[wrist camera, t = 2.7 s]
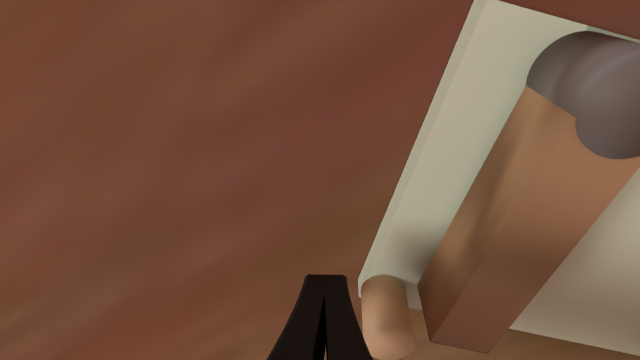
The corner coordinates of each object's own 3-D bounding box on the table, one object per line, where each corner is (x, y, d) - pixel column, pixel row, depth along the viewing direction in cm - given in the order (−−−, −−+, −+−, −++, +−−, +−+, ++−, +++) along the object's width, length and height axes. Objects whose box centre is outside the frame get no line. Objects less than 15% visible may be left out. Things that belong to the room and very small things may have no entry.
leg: (555, 20, 11) (627, 38, 8) (638, 43, 11) (735, 69, 8) (413, 284, 17) (427, 346, 14) (469, 296, 17) (493, 359, 15)
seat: (656, 346, 21) (721, 426, 17) (354, 282, 19) (357, 354, 16) (926, 121, 13) (1139, 178, 10) (473, -6, 12) (528, 6, 9)
